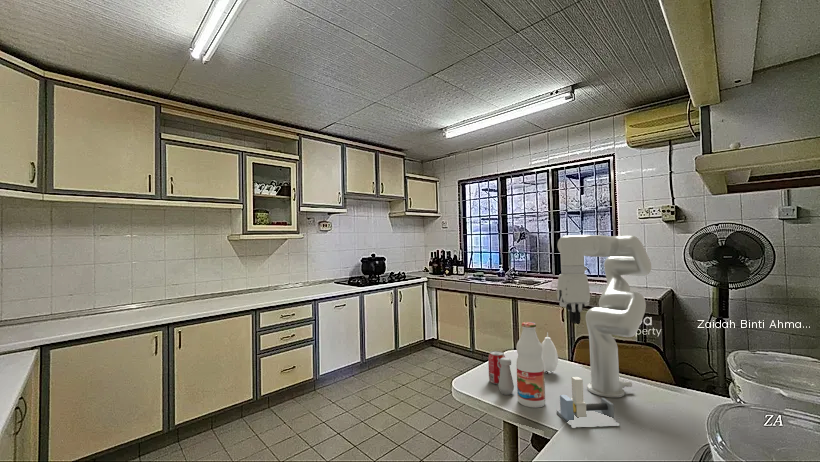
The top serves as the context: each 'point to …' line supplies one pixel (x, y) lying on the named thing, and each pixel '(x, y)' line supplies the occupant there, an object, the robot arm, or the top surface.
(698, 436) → the top surface
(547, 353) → the sauce bottle
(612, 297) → the robot arm
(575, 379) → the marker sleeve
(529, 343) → the fruit juice
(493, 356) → the soda can
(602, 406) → the blue block with rod
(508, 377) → the salt shaker
